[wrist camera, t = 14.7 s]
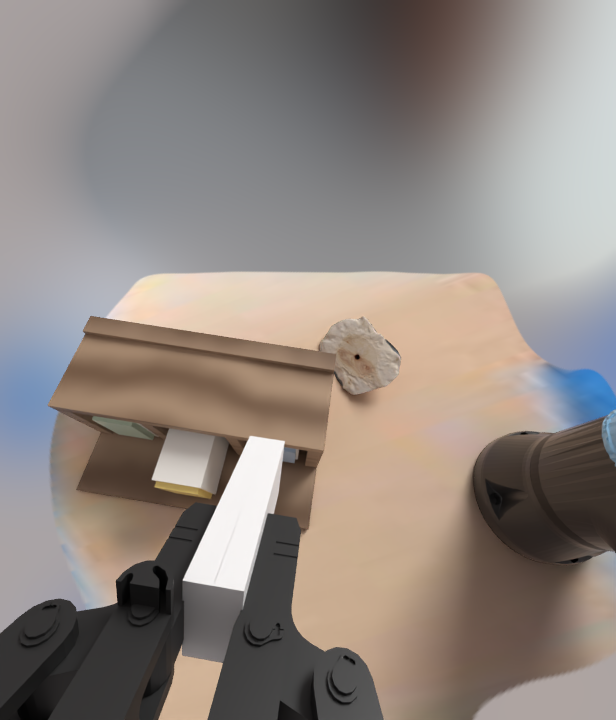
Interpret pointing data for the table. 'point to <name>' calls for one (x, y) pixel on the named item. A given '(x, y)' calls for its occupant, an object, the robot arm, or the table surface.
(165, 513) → the table surface
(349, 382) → the rock
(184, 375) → the brown boxy piece
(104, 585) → the table surface
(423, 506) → the table surface
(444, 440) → the table surface
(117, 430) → the sage key
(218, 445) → the mustard key
